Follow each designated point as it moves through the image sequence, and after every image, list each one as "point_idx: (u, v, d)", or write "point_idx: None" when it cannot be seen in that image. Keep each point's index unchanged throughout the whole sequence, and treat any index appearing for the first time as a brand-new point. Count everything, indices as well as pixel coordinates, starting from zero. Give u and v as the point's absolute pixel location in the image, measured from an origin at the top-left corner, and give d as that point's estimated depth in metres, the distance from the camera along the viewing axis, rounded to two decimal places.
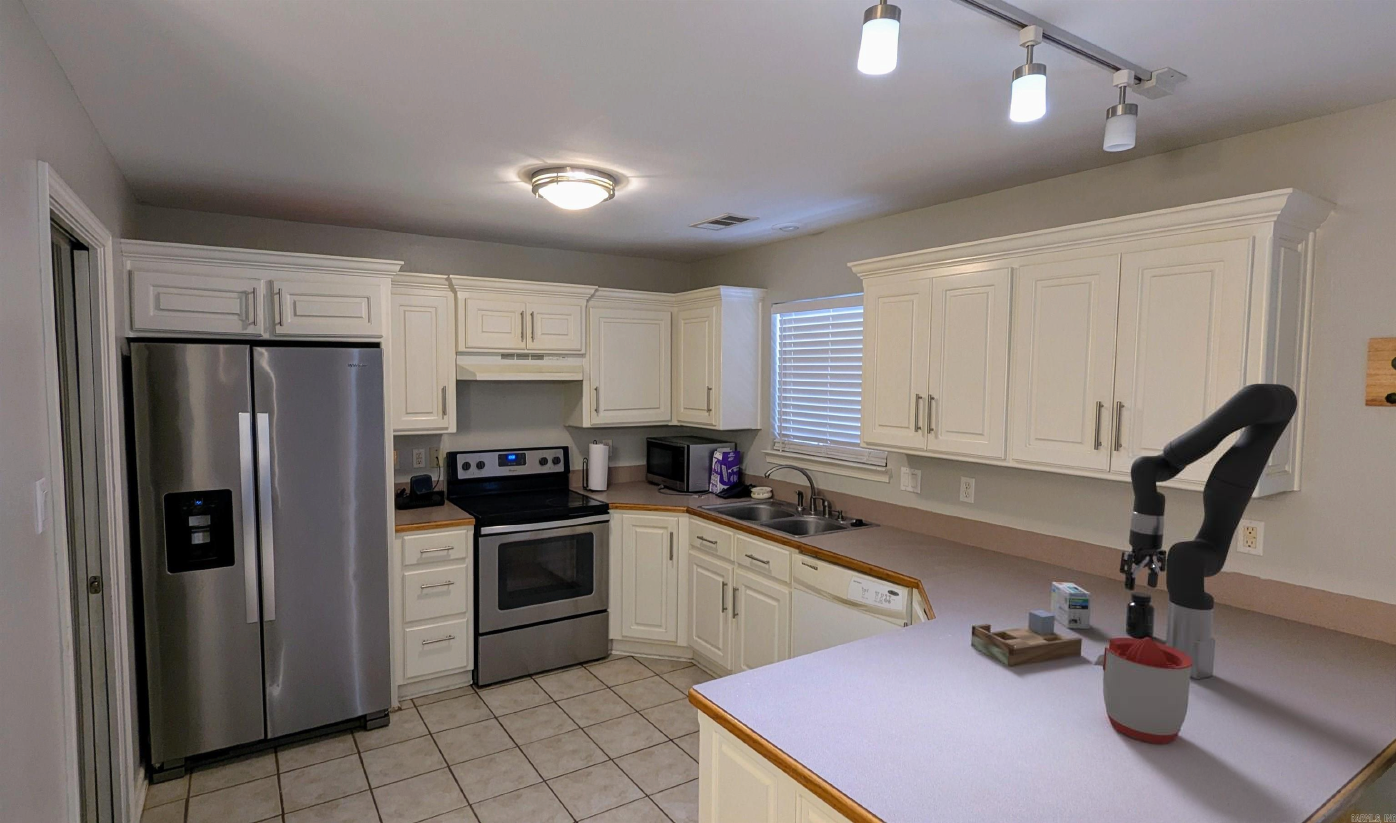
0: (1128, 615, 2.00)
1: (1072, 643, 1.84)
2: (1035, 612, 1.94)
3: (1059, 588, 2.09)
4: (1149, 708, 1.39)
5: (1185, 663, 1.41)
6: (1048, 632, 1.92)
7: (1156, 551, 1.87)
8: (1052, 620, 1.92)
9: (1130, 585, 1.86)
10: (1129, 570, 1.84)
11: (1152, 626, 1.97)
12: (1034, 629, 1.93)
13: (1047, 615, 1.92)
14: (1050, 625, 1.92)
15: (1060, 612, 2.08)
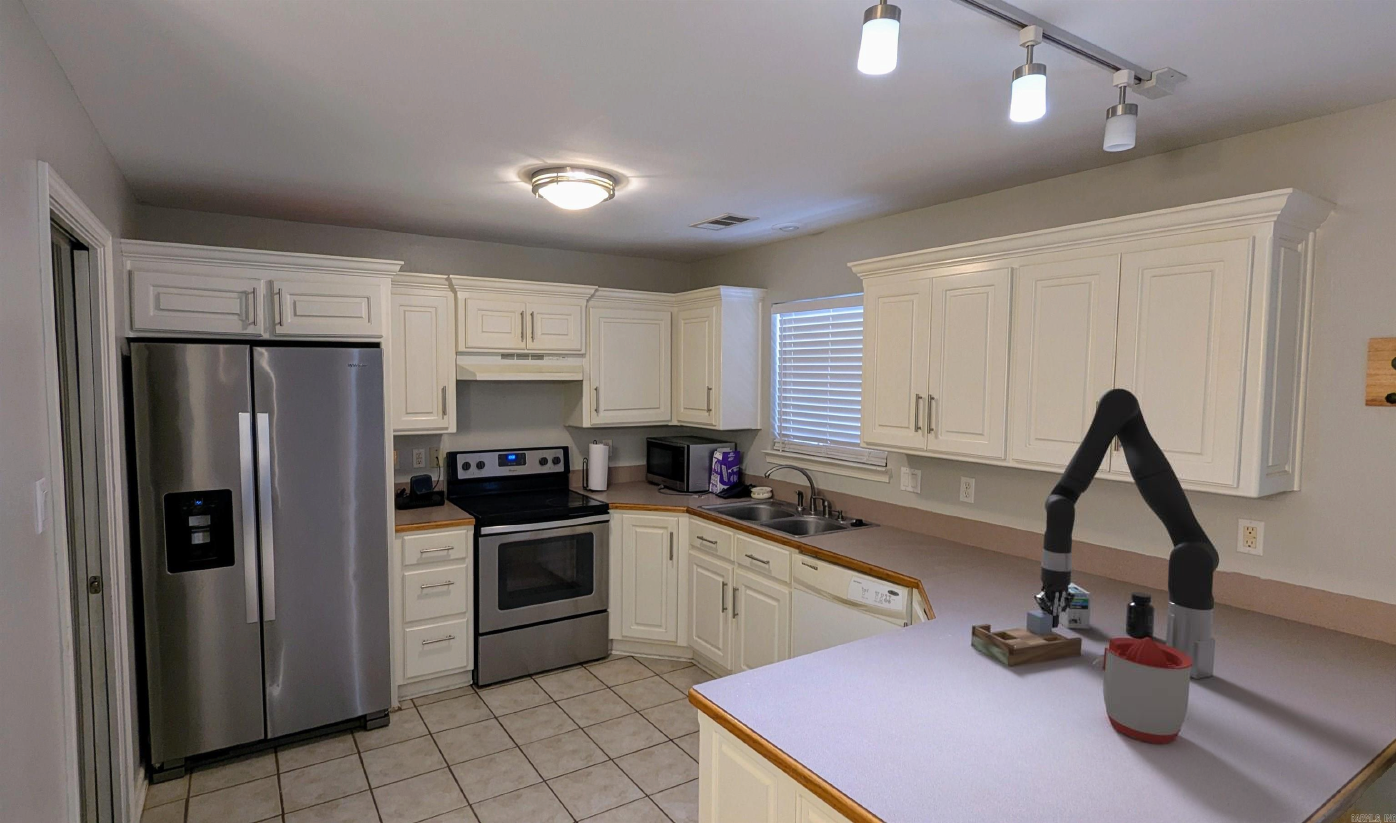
0: (1128, 615, 2.00)
1: (1072, 643, 1.84)
2: (1033, 612, 1.94)
3: None
4: (1149, 708, 1.39)
5: (1185, 663, 1.41)
6: (1046, 632, 1.91)
7: (1067, 587, 1.95)
8: (1050, 620, 1.92)
9: (1052, 623, 1.94)
10: (1050, 608, 1.93)
11: (1152, 626, 1.97)
12: (1032, 629, 1.93)
13: (1045, 615, 1.92)
14: (1048, 626, 1.92)
15: None
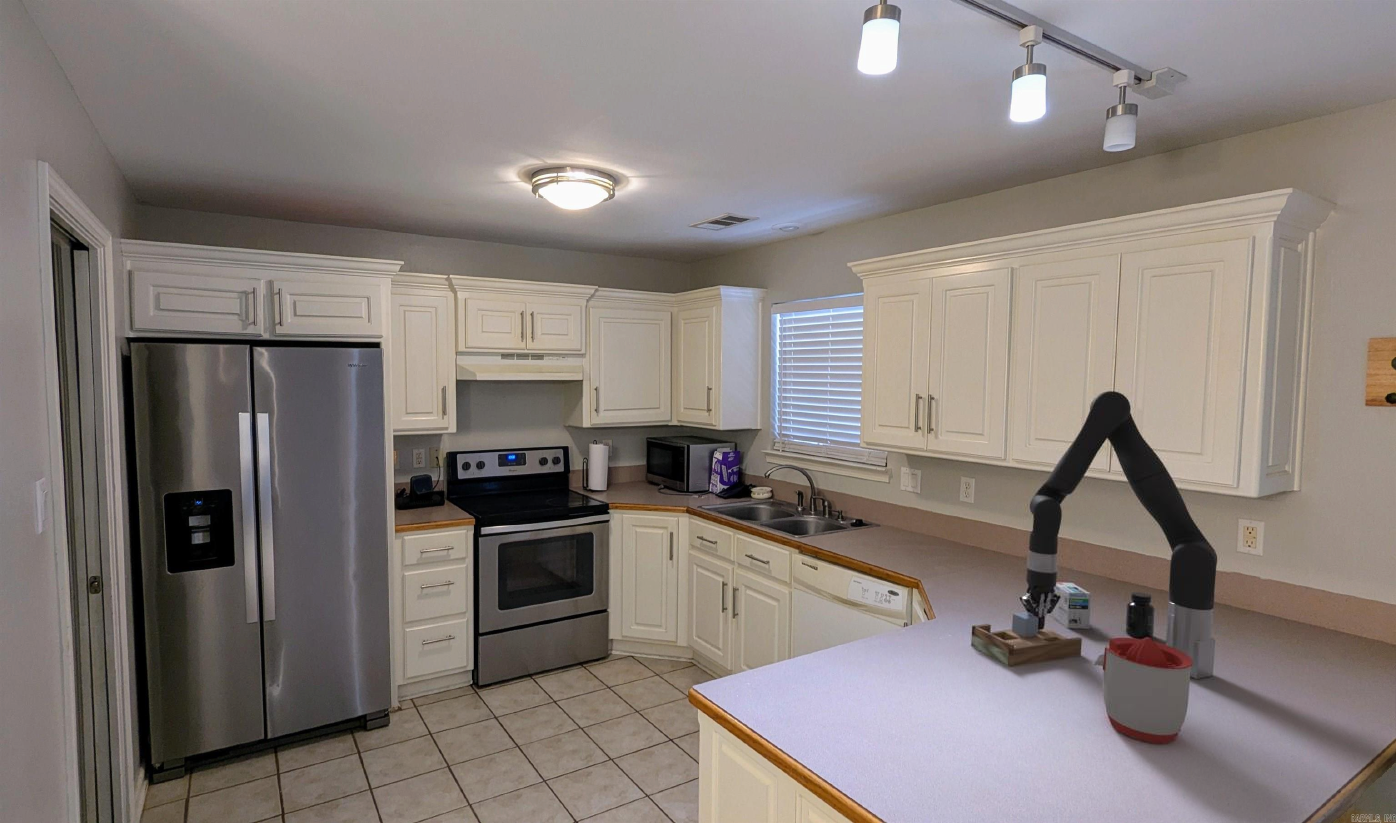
0: (1128, 615, 2.00)
1: (1072, 643, 1.84)
2: (1019, 614, 1.92)
3: (1059, 588, 2.09)
4: (1149, 708, 1.39)
5: (1185, 663, 1.41)
6: (1032, 634, 1.90)
7: (1053, 589, 1.93)
8: (1036, 622, 1.90)
9: None
10: (1035, 610, 1.91)
11: (1152, 626, 1.97)
12: (1018, 631, 1.91)
13: (1031, 617, 1.90)
14: (1034, 628, 1.90)
15: (1060, 612, 2.08)
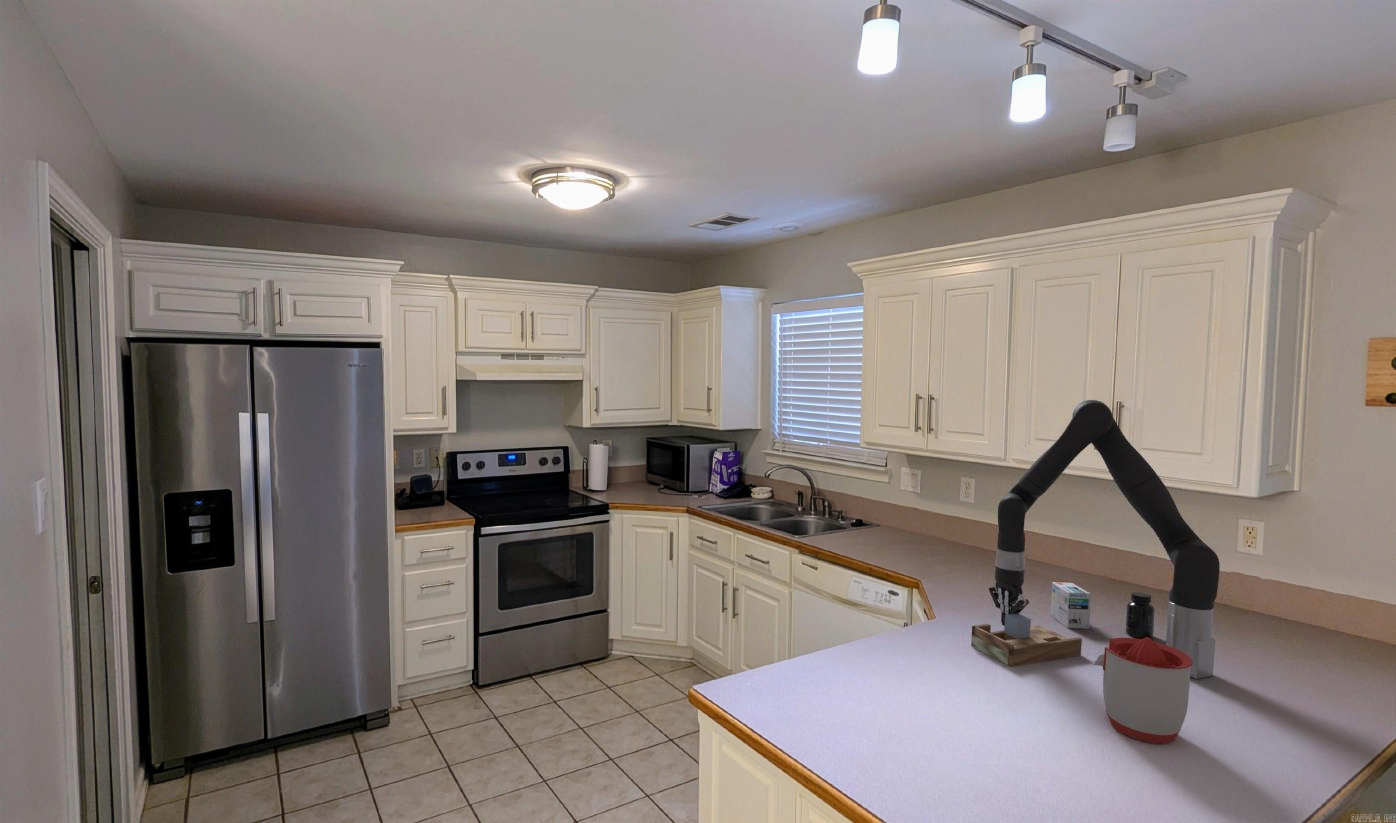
0: (1128, 615, 2.00)
1: (1072, 643, 1.84)
2: (1011, 616, 1.91)
3: (1059, 588, 2.09)
4: (1149, 708, 1.39)
5: (1185, 663, 1.41)
6: (1024, 636, 1.88)
7: (1015, 590, 1.91)
8: (1028, 624, 1.89)
9: (1002, 619, 1.96)
10: (997, 602, 1.98)
11: (1152, 626, 1.97)
12: (1010, 633, 1.90)
13: (1023, 619, 1.88)
14: (1026, 629, 1.88)
15: (1060, 612, 2.08)
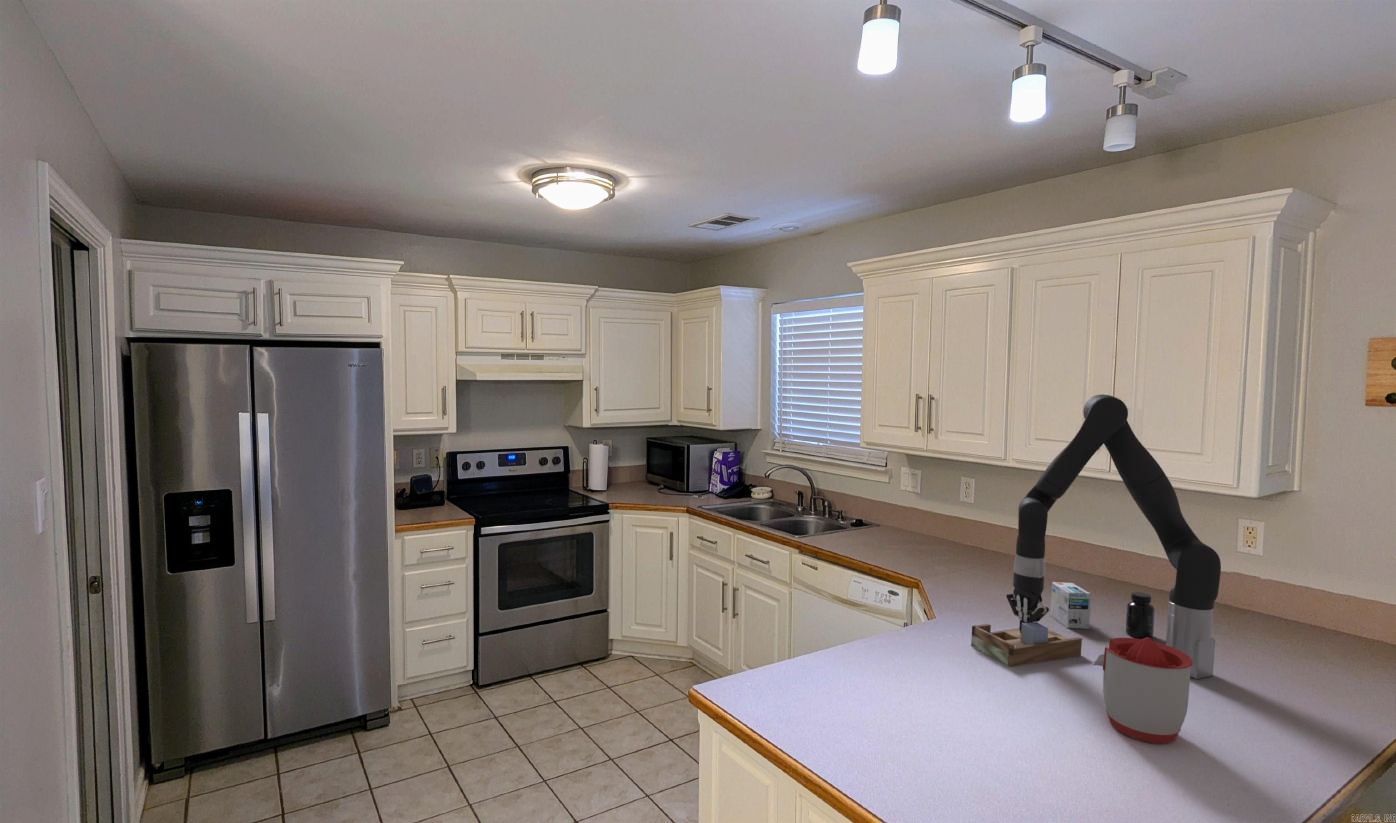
0: (1128, 615, 2.00)
1: (1072, 643, 1.84)
2: (1028, 624, 1.84)
3: (1059, 588, 2.09)
4: (1149, 708, 1.39)
5: (1185, 663, 1.41)
6: None
7: (1034, 598, 1.85)
8: (1045, 633, 1.82)
9: (1020, 627, 1.90)
10: (1015, 610, 1.91)
11: (1152, 626, 1.97)
12: (1026, 642, 1.84)
13: (1040, 628, 1.82)
14: (1043, 639, 1.82)
15: (1060, 612, 2.08)
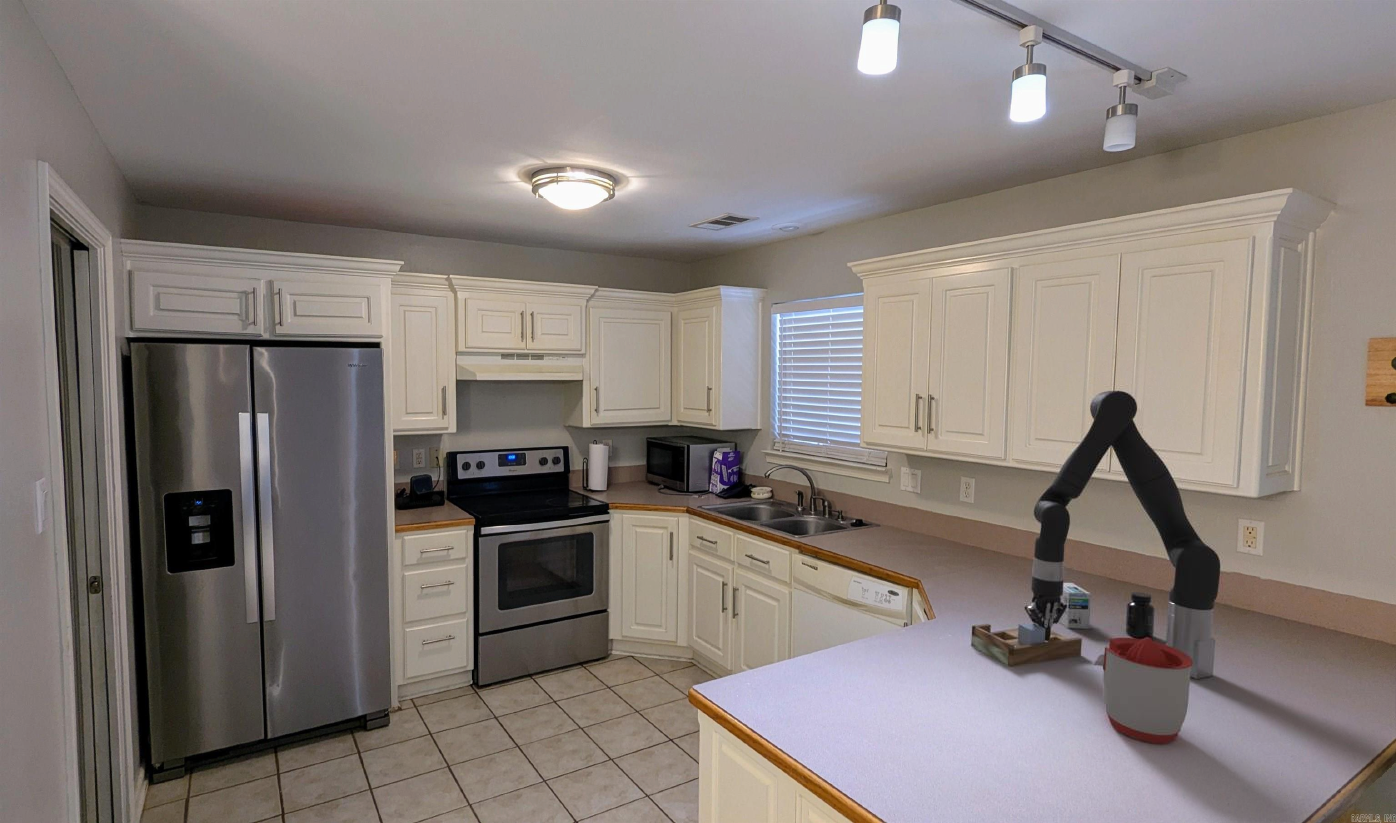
0: (1128, 615, 2.00)
1: (1072, 643, 1.84)
2: (1025, 625, 1.84)
3: None
4: (1149, 708, 1.39)
5: (1185, 663, 1.41)
6: None
7: (1059, 598, 1.85)
8: (1042, 634, 1.81)
9: None
10: (1041, 620, 1.83)
11: (1152, 626, 1.97)
12: (1023, 643, 1.83)
13: (1037, 628, 1.81)
14: (1041, 640, 1.81)
15: None
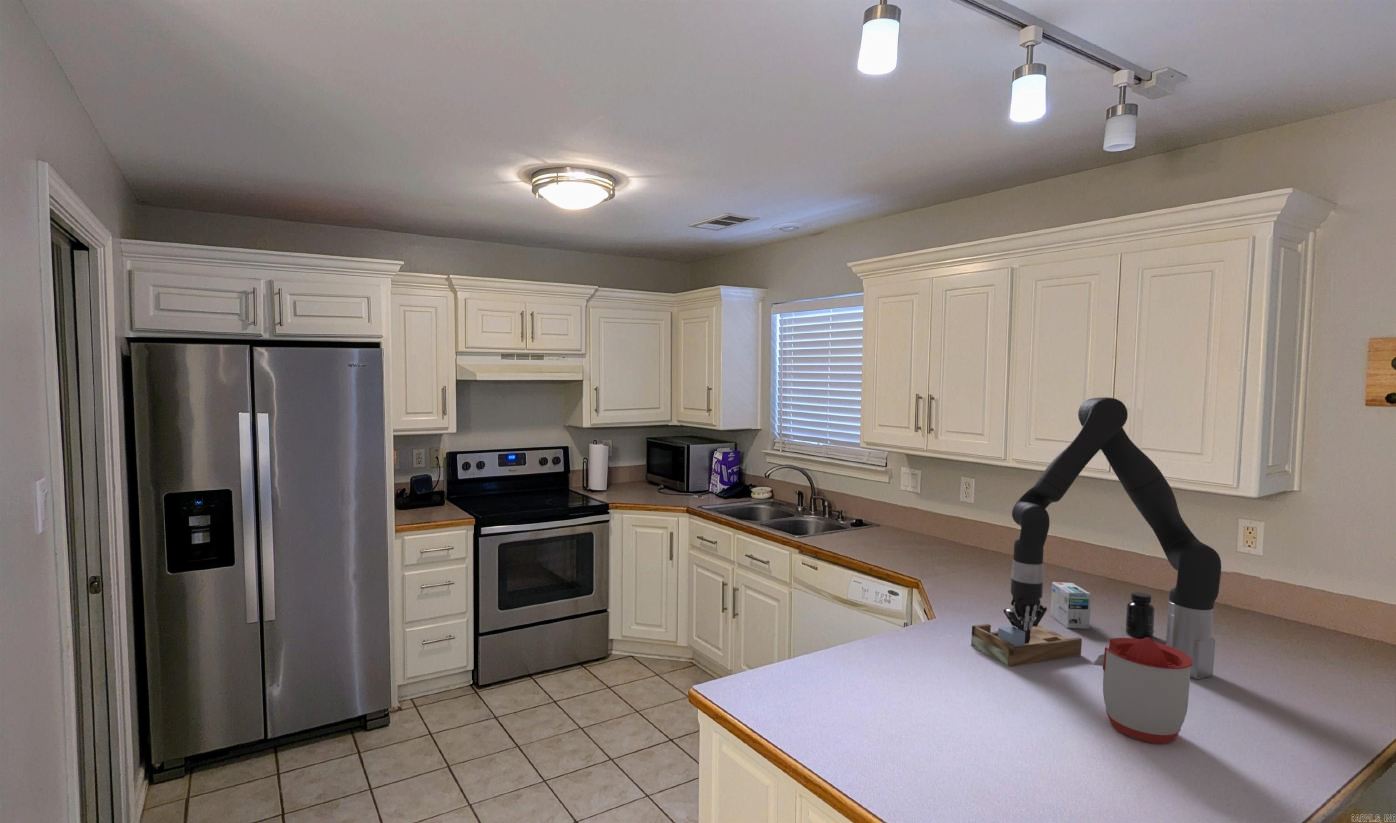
0: (1128, 615, 2.00)
1: (1072, 643, 1.84)
2: (1005, 628, 1.81)
3: (1059, 588, 2.09)
4: (1149, 708, 1.39)
5: (1185, 663, 1.41)
6: None
7: (1039, 600, 1.83)
8: (1022, 637, 1.79)
9: None
10: (1020, 623, 1.81)
11: (1152, 626, 1.97)
12: None
13: (1017, 632, 1.79)
14: (1021, 643, 1.79)
15: (1060, 612, 2.08)
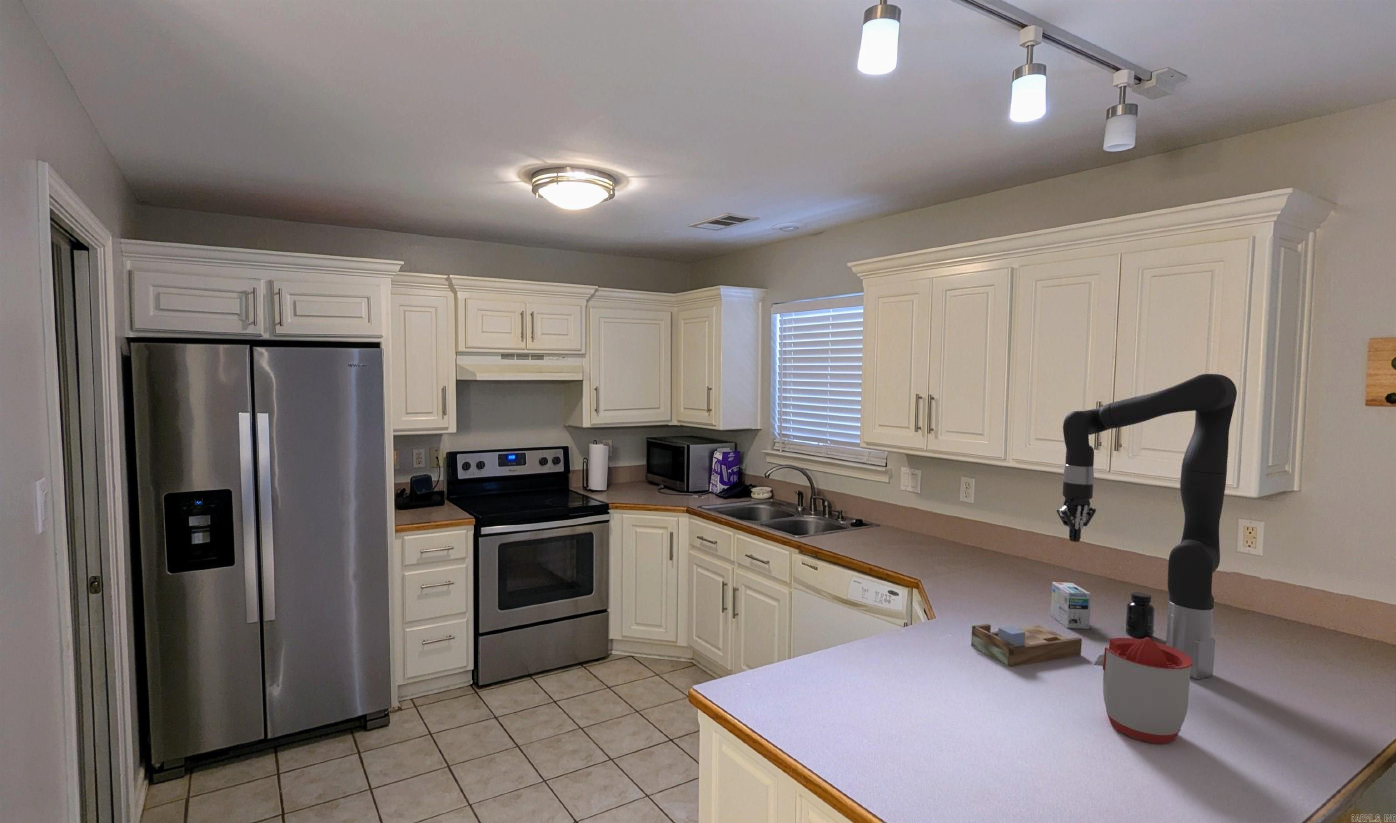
0: (1128, 615, 2.00)
1: (1072, 643, 1.84)
2: (1005, 628, 1.81)
3: (1059, 588, 2.09)
4: (1149, 708, 1.39)
5: (1185, 663, 1.41)
6: None
7: (1089, 502, 1.98)
8: (1022, 637, 1.79)
9: (1074, 537, 1.97)
10: (1072, 522, 1.96)
11: (1152, 626, 1.97)
12: None
13: (1017, 632, 1.79)
14: (1021, 643, 1.79)
15: (1060, 612, 2.08)
